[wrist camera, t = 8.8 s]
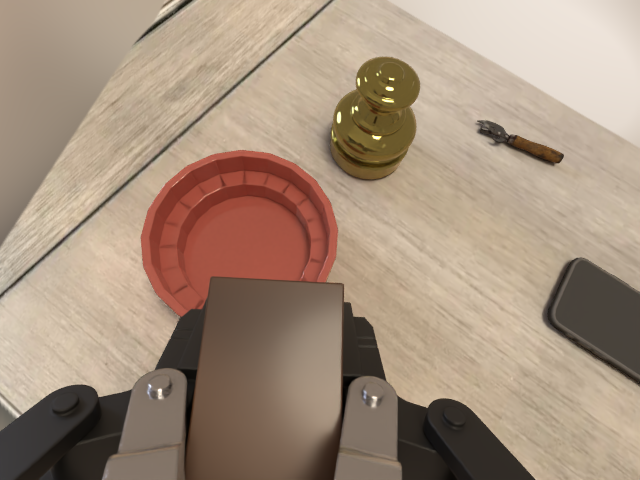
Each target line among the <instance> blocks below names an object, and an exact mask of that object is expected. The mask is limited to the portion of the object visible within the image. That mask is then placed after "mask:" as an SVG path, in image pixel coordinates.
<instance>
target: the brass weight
mask: <svg viewBox="0 0 640 480" xmlns="http://www.w3.org/2000/svg"><path fill="white" fill-rule="evenodd" d="M356 88H357V89H356V90H353V91H351V92H349V93H348V94H346V95H345V96H344V97H343V98H342V99H341V100H340V101H339V103H338V105H337V106H336V109H335V112H334V116H333V124H332V128H331V139H330V150H331V153H332V156H333V158H334V160H335V161H336V163H337V164H338V165H339V166H340V167H341V168H342V169H343V170H344V171H346V172H347V173H349V174H351V175H353V176H355V177H358V178H362V179H378V178H382V177H385V176H387V175H389V174H391V173H392V172H394V171H395V170H396V169H397V168H398V166H399V165H400V163H401V161H402V159H403V158H404V156H405V155H406V153H407V151H408V148H409V146H410V145H411V143H412V142H413V140H414V137H415V134H416V119H415V115H414V113H413V111H412V109H411V107H410V106H411V105H412V104H413V103H414V102H415V100H416V99H417V97H418V95H419V91H420V81H419V78H418V75H417V74H416V72H415V71H414V70H413V68H412V67H410V66H409V65H408V64H407V63H405V62H403V61H401V60H399V59H396V58H393V57H376V58H373V59H370V60H368V61H366V62H365V63H364V64H363V65H362V66H361V67H360V69H359V71H358V73H357V76H356Z"/></svg>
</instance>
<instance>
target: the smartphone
mask: <svg viewBox="0 0 640 480" xmlns="http://www.w3.org/2000/svg"><path fill="white" fill-rule="evenodd" d="M548 319H549V322H550V323H551V324H552V325H553V326H554V327H555V328H557V329H558V330H560V331H561V332H563V333H564V334H565V335H566V336H568V337H569V338H572V339H574V340H575V341H576V342H577V343H578V344H580V345H581V346H583V347H585V348H586V349H588V350H590V351H591V352H592V353H594V354H595V355H597V356H598V357H600V358H601V359H604V360H606V361H607V362H609V363H610V364H612V365H614V366H615V367H617V368H618V369H620V370H621V371H623V372H624V373H626V374H627V375H629V376H630V377H632V378H634V379H635V380H637V381H638V382H640V292H639V291H637V290H635V289H634V288H632V287H631V286H629V285H628V284H627V283H625V282H624V281H622V280H620V279H619V278H617V277H616V276H614V275H612V274H610V273H608V272H607V271H605V270H603V269H602V268H600V267H598V266H597V265H595V264H594V263H592V262H590V261H589V260H587V259H585V258H576V259H574V260H573V261H572V262H571V263H570V264H569V266H568V268H567V270H566V273H565V275H564V277H563V279H562V282H561V284H560V286H559V288H558V291H557V293H556V295H555V297H554V299H553V301H552V304H551V306H550V308H549V311H548Z"/></svg>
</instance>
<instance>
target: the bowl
mask: <svg viewBox="0 0 640 480" xmlns="http://www.w3.org/2000/svg"><path fill="white" fill-rule="evenodd" d="M337 236H338V228H337V224H336V220H335V216H334V213H333V209H332V205H331V203H330V201H329V199H328V198H327V196H326V195H325V193H324V192H323V190H322V189H321V187H320V186H319V184H318V183H317V181H316V180H315V179H314V178H312V177H311V176H310V175H309V174H307V173H306V172H305V171H304V170H302V169H301V168H300V167H299V166H297V165H296V164H294V163H292V162H290V161H287V160H285V159H283V158H280V157H278V156H275V155H273V154H270V153H264V152H255V151H246V150H242V151H241V150H238V151H231V152H225V153H218V154H214V155H210V156H208V157H206V158H204V159H201V160H199V161H197V162H195V163H192V164H190V165H188V166H186V167H185V168H184V169H183V170H181V171H180V172H179V173H178V174H177V175H175V176H174V177H173V178H172V179H171V180H169V181H168V182H167V183H166V184H165V185H164V186H163V188H162V189H161V191H160V192H159V194H158V195H157V197H156V198H155V200H154V201H153V203H152V204H151V206H150V207H149V209H148V212H147V216H146V219H145V223H144V227H143V231H142V234H141V247H142V258H143V267H144V270H145V272H146V274H147V276H148V278H149V280H150V282H151V284H152V286H153V288H154V291H155V293H156V294H157V295H158V296H159V297H160V298H161V299H162V300H163V301H164V302H165V303H166V304H167V305H168V306H169V307H170V308H171V309H172V310H173V311H174V312H175V313H176V314H177V315H179V316H180V317H182V316H183V315H184V314H185V313H187V312H188V311H189V310H190V309H202V308H203V305H204V303H205V301H206V298H207V296H208V290H209V283H210V278H211V277H212V276H217V277H235V278H253V279H271V280H290V281H308V282H326V281H327V279H328V277H329V274H330V272H331V269H332V266H333V264H334V261H335V259H336V250H337Z"/></svg>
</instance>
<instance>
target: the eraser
mask: <svg viewBox="0 0 640 480" xmlns="http://www.w3.org/2000/svg"><path fill="white" fill-rule="evenodd" d="M343 325H344V284H342V283H326V282H308V281H290V280H271V279H253V278H235V277H217V276H212V277H211V278H210V283H209V290H208V297H207V304H206V311H205V318H204V325H203V332H202V340H201V347H200V354H199V361H198V368H197V375H196V382H195V389H194V396H193V403H192V410H191V418H190V425H189V432H188V439H187V446H186V453H185V460H184V474H185V480H334V476H335V470H336V463H337V457H338V451H339V445H340V439H341V432H342V397H343Z"/></svg>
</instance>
